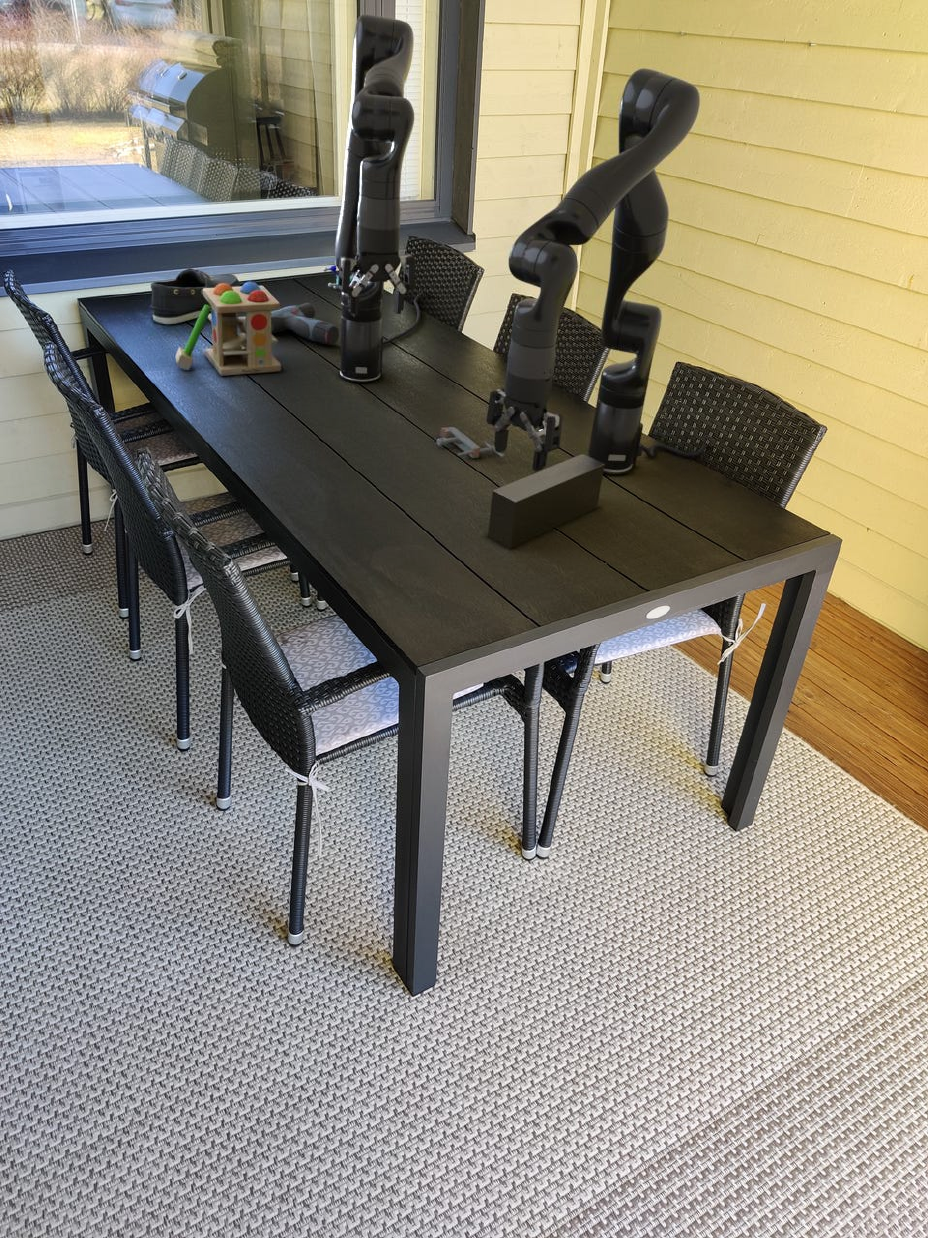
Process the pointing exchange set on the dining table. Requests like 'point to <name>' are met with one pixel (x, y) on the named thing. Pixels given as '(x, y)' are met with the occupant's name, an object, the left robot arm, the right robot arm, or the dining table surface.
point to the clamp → (463, 443)
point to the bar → (545, 500)
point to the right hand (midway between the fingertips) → (519, 460)
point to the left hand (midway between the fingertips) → (376, 314)
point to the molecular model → (333, 269)
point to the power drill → (304, 324)
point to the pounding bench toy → (229, 347)
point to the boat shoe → (184, 295)
